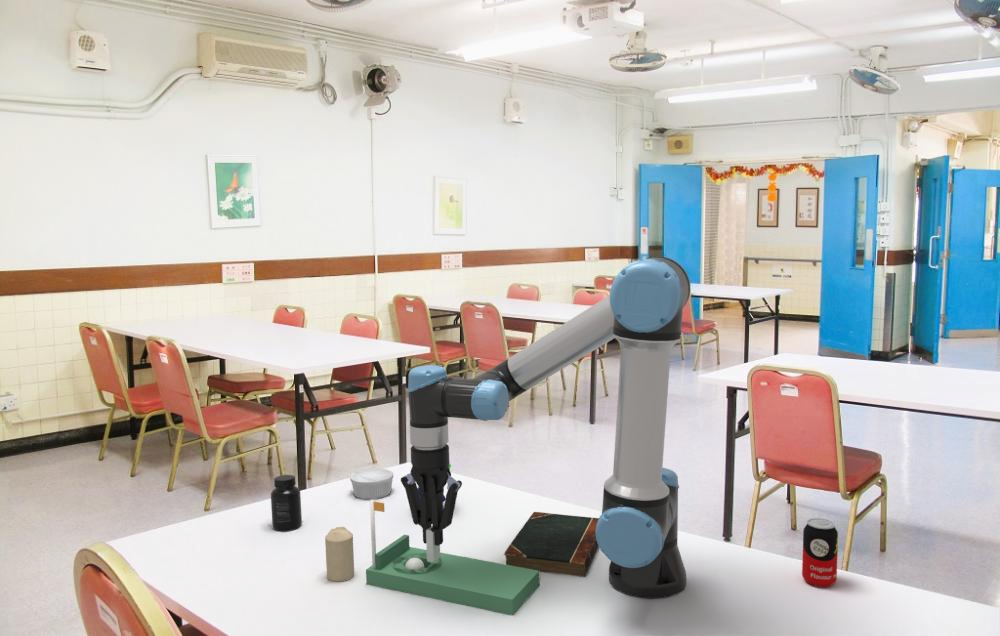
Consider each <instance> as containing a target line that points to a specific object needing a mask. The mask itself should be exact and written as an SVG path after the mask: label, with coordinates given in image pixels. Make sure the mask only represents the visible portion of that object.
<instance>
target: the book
mask: <svg viewBox="0 0 1000 636" xmlns="http://www.w3.org/2000/svg"><path fill="white" fill-rule="evenodd" d="M598 519H599V518H598V517H590V516H589V517H588V516H580V515H579V516H578V515H571V514H570V515H569V514H559V513H548V512H543V511H542V512H540V511H533V512H532V514H530V516H529V518H528V519H527V520H526V521H525V523H524V525H522V527H521V528H520V530H519V531H518V532H517V534H516V535H515V537H514V538H513V540H512V541H511V542H510V544H509V545H508V546H507V548H506V550H505V551H504V553H503V556H505V565H511V566H516V567H522V568H527V569H532V570H538V571H539V572H542V573H550V574H559V575H565V576H568V575H569V576H576V577H577V576H579V577H583V578H585V577H586V575H587V572H588V570H589V568H590V566H591V564H592V561H593V559H594V558H595V556H596V553H597V550H598V548H599V546H598V543H597V540H596V524H597V522H598Z"/></svg>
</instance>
